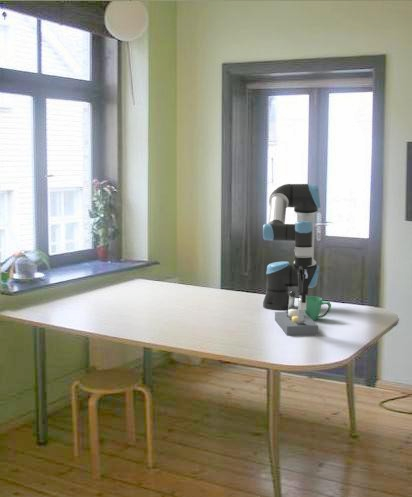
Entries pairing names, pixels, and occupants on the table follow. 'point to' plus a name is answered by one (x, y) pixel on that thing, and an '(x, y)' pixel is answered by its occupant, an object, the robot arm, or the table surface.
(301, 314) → the lever
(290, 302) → the lever
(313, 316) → the mug
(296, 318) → the button mustard
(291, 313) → the button ivory
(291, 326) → the panel
